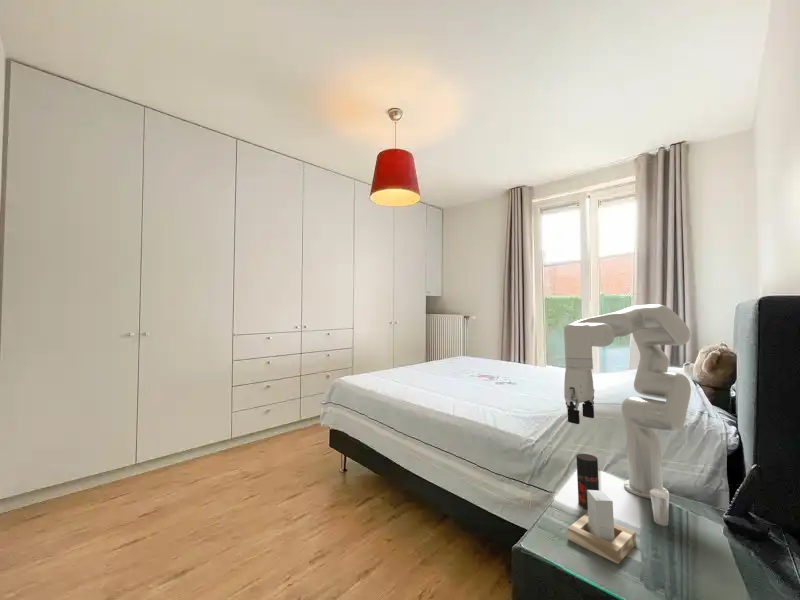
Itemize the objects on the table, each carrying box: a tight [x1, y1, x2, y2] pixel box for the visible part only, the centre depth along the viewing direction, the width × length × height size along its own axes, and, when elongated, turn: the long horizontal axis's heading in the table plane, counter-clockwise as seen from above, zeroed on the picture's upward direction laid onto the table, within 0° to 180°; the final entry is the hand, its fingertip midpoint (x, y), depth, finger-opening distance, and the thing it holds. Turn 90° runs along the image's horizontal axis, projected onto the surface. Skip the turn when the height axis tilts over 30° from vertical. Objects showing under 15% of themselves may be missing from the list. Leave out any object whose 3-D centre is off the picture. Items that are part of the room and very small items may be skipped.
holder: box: [567, 511, 637, 565], centre depth 90 cm, size 12×12×3 cm
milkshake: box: [650, 483, 670, 527], centre depth 99 cm, size 4×5×10 cm
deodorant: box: [575, 453, 600, 511], centre depth 108 cm, size 6×6×15 cm
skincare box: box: [587, 490, 615, 542], centre depth 90 cm, size 6×4×12 cm
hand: (581, 420), depth 104 cm, fingers open, 9 cm apart
